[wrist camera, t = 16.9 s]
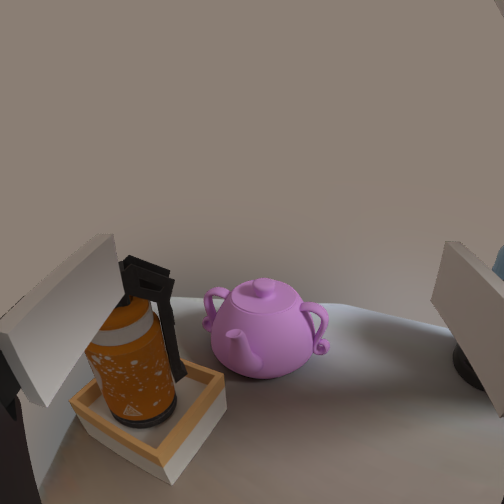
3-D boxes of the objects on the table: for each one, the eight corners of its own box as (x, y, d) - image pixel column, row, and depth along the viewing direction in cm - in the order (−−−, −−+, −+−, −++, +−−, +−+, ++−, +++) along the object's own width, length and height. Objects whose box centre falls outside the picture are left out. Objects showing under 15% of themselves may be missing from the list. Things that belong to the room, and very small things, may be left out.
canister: (108, 387, 38) (64, 254, 30) (182, 371, 43) (161, 236, 34) (116, 438, 31) (54, 296, 23) (202, 417, 35) (179, 271, 27)
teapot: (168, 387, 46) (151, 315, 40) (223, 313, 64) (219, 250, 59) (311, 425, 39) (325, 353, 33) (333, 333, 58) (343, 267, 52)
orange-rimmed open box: (147, 375, 48) (137, 340, 45) (227, 408, 42) (223, 373, 39) (88, 433, 36) (68, 400, 32) (172, 485, 30) (157, 457, 27)
